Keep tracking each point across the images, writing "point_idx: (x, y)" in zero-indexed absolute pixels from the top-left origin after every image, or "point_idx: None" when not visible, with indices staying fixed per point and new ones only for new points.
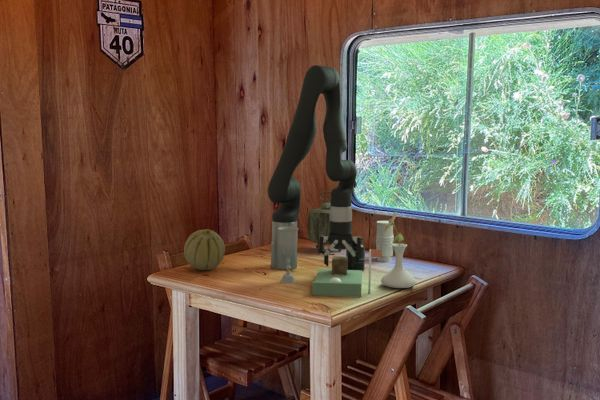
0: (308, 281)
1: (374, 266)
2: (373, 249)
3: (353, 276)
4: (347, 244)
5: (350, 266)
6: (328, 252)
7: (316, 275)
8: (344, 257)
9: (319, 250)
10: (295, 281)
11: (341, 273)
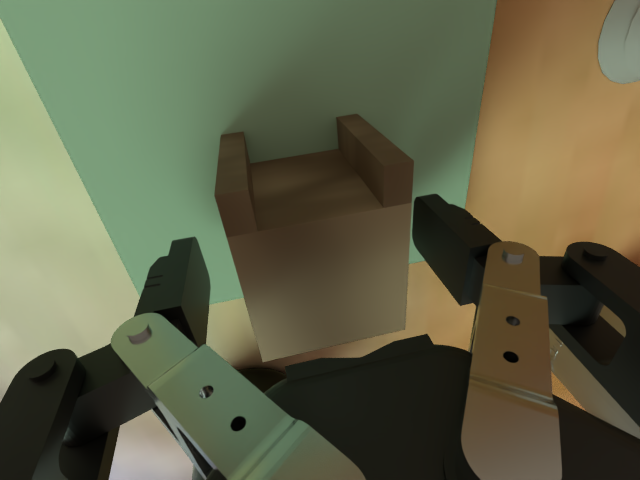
0: (510, 62)
1: (174, 465)
2: None
3: (138, 103)
4: (229, 456)
5: (269, 388)
6: (495, 272)
7: (489, 46)
8: (284, 324)
9: (624, 263)
10: (605, 23)
11: (276, 160)
